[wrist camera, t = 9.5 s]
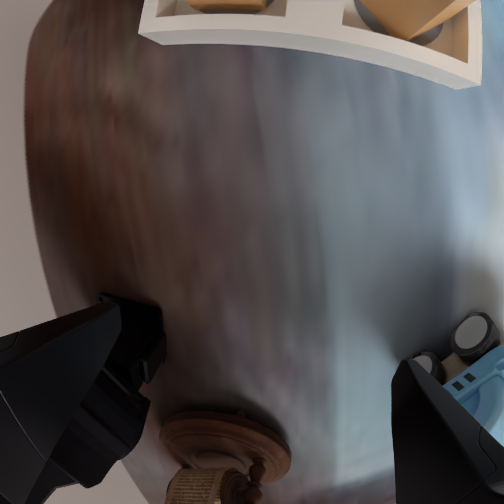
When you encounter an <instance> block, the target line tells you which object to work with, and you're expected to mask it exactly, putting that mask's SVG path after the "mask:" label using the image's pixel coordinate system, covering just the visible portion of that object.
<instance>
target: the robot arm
mask: <svg viewBox="0 0 504 504" xmlns="http://www.w3.org/2000/svg"><path fill="white" fill-rule="evenodd" d="M155 313H157V314H158V315H156V314H155ZM165 356H166V336H165V333H164V331H163V316H162V311H161V310H160V309H159V308H157V307H153V306H150V305H146V304H142V303H138V302H134V301H131V300H127V299H123V298H120V297H116V296H112V295H109V294H105V293H99V294H98V295H97V305H94V306H92V307H89V308H86V309H83V310H80V311H77V312H74V313H71V314H68V315H65V316H62V317H59V318H56V319H53V320H50V321H47V322H44V323H41V324H39V325H36V326H33V327H30V328H27V329H24V330H21V331H20V332H19V331H18V332H15V333H12V334H9V335H6V336H3V337H0V504H44V502H45V501H46V500H47V499H48V498H49V496H50V495H51V494H52V493H53V492H54V491H55V490H56V488H60V487H65V486H70V485H74V484H78V483H79V484H80V485H82V486H83V487H85V488H90V487H93V486H95V485H97V484H99V483H101V482H102V480H103V479H104V477H105V476H106V474H107V473H108V471H109V470H110V468H111V467H112V466H113V465H114V463H115V462H116V461H117V460H120V459H122V458H124V457H125V456H127V455H128V454H129V453H130V452H131V451H132V450H133V449H134V447H135V446H136V445H137V443H138V442H139V440H140V438H141V435H142V432H143V428H144V425H145V421H146V417H147V413H148V410H149V406H150V402H151V401H150V400H149V399H148V398H146V397H144V396H143V395H142V394H141V393H139V392H138V391H139V389H140V387H141V386H142V384H143V383H145V384H148V383H150V381H151V380H152V378H153V376H154V374H155V373H156V371H157V369H158V368H159V367H161V366H163V365H164V363H165ZM391 397H392V410H391V426H392V438H393V450H394V465H395V484H396V504H504V447H503V446H502V445H501V444H500V443H499V442H498V441H497V440H496V439H495V438H494V437H493V436H492V435H491V434H490V433H489V432H488V431H487V430H486V429H485V428H484V427H483V426H481V424H480V423H479V422H478V421H477V420H476V419H475V418H474V417H473V416H472V415H471V414H470V413H469V412H468V411H467V410H466V409H465V408H464V407H463V406H462V405H461V404H460V403H459V402H458V401H457V400H456V399H455V398H454V397H453V396H452V395H451V394H450V393H449V392H448V391H447V390H446V389H445V388H444V387H443V386H442V385H441V384H440V383H439V382H438V381H437V380H436V379H435V378H434V377H433V376H431V375H430V374H429V373H428V372H427V371H426V370H425V369H424V368H423V367H422V366H421V365H420V364H419V363H418V362H417V361H416V360H413V359H403V360H402V361H401V363H400V365H399V367H398V369H397V371H396V373H395V374H394V376H393V379H392V383H391Z"/></svg>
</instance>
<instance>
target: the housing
mask: <svg viewBox="0 0 504 504" xmlns="http://www.w3.org/2000/svg"><path fill="white" fill-rule="evenodd" d="M138 34H140V35H142V36H144V37H147V38H149V39H151V40H153V41H155V42H157V43H159V44H161V45H173V44H239V45H256V46H269V47H279V48H288V49H296V50H304V51H310V52H317V53H323V54H329V55H334V56H340V57H345V58H350V59H354V60H359V61H363V62H368V63H372V64H376V65H380V66H384V67H388V68H391V69H395V70H398V71H402V72H405V73H409V74H412V75H415V76H418V77H421V78H424V79H427V80H430V81H433V82H436V83H439V84H442V85H444V86H447V87H450V88H452V89H455V90H459V89H464V88H469V87H474V86H480V85H481V74H482V19H481V4H480V0H476V1H474V2H473V3H471V4H470V5H468V6H467V7H465V8H464V9H463V10H461V11H460V12H458V13H457V14H455V15H454V16H453V17H451V18H450V19H448V20H447V21H445V22H443V23H441V24H439V25H438V26H436V27H434V28H432V29H430V30H428V31H426V32H425V33H423V34H421V35H419V36H417V37H415V38H414V39H412V40H410V41H404V40H401V39H398V38H394V37H391V36H390V35H389V33H388V32H387V31H386V30H385V29H384V27H383V26H382V25H381V24H380V23H379V22H378V20H377V19H376V18H375V17H374V16H373V15H372V14H371V13H370V12H369V10H368V9H367V8H366V7H365V6H364V5H363V4H362V3H361V2H360V1H359V0H267V2H266V9H265V10H251V9H201V10H195V9H194V8H193V7H191V6H190V5H189V4H188V3H187V2H186V1H185V0H145V1H144V6H143V11H142V15H141V21H140V26H139V31H138Z"/></svg>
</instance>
